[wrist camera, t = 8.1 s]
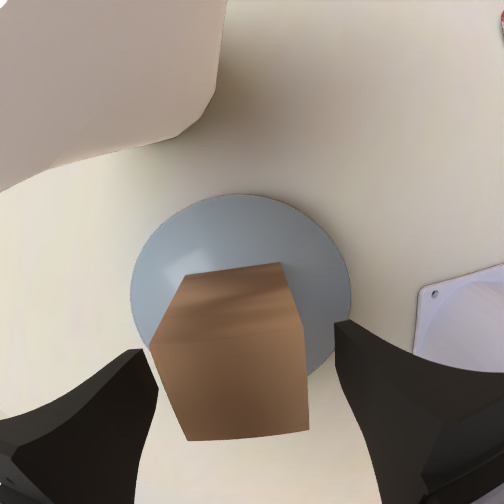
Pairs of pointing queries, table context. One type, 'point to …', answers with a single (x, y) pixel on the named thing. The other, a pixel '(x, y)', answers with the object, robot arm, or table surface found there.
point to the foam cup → (100, 77)
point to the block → (234, 355)
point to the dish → (245, 262)
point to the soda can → (503, 21)
